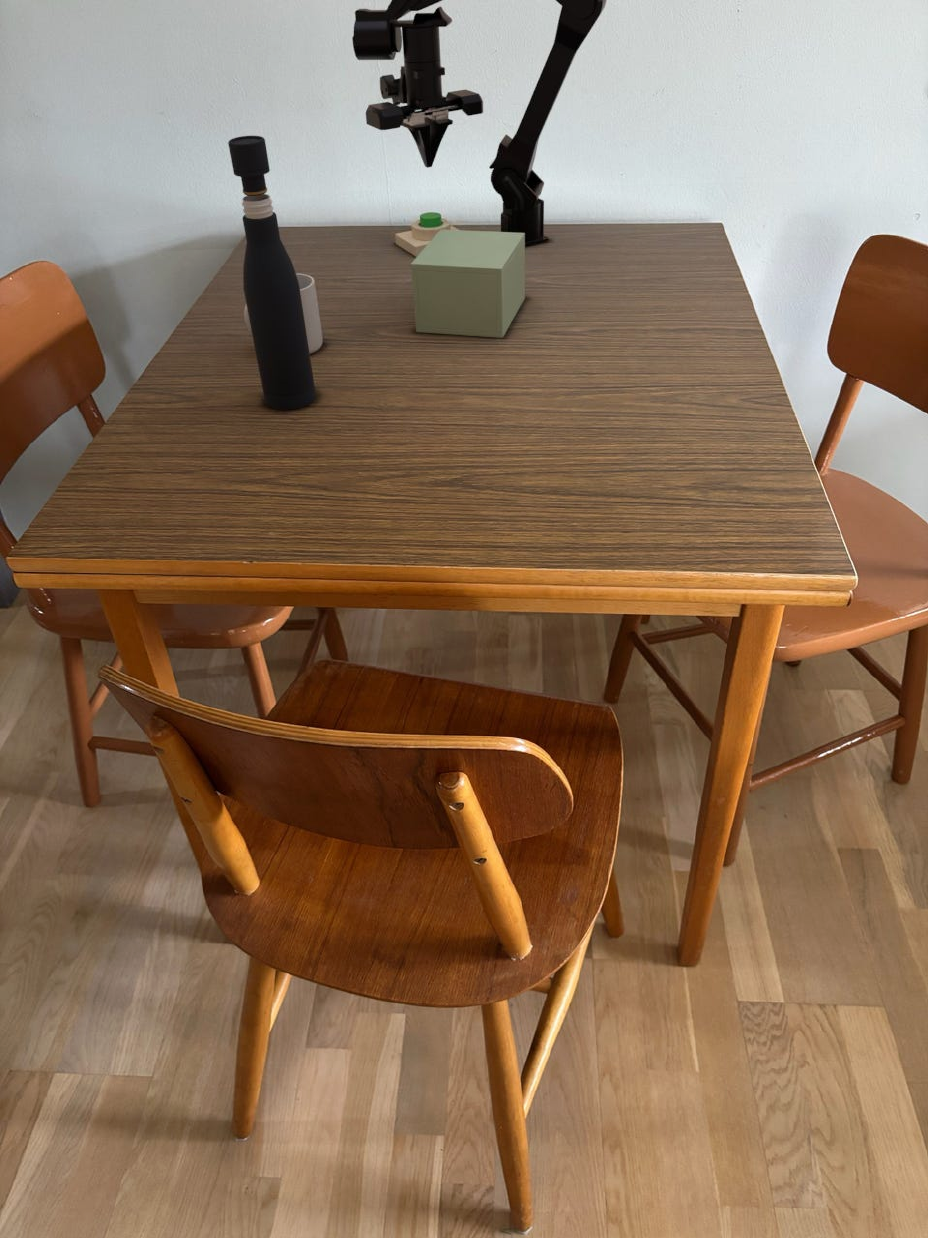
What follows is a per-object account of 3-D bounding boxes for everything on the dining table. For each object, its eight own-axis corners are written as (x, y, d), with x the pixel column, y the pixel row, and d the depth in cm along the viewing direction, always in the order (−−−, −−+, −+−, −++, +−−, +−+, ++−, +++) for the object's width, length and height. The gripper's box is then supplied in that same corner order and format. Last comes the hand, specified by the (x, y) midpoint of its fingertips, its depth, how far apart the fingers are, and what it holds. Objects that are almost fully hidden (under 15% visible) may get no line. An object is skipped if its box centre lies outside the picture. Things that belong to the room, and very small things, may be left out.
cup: (325, 354, 131) (316, 289, 125) (252, 363, 129) (239, 298, 124) (321, 333, 136) (312, 270, 130) (250, 342, 135) (238, 279, 129)
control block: (447, 232, 168) (446, 212, 166) (468, 245, 163) (468, 223, 160) (395, 243, 165) (394, 222, 162) (416, 256, 159) (414, 235, 157)
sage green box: (444, 293, 146) (440, 229, 140) (524, 298, 143) (524, 232, 137) (415, 332, 135) (410, 263, 129) (502, 338, 132) (501, 268, 126)
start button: (435, 221, 164) (435, 210, 162) (445, 226, 161) (444, 215, 160) (416, 225, 162) (416, 214, 161) (426, 230, 160) (425, 219, 159)
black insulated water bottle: (274, 415, 117) (225, 150, 98) (258, 394, 122) (208, 138, 103) (323, 402, 119) (284, 140, 100) (305, 382, 124) (265, 129, 105)
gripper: (449, 45, 158) (454, 147, 168) (346, 59, 151) (357, 165, 161) (483, 54, 150) (486, 161, 160) (376, 70, 144) (385, 180, 154)
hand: (428, 166), depth 159 cm, fingers closed
